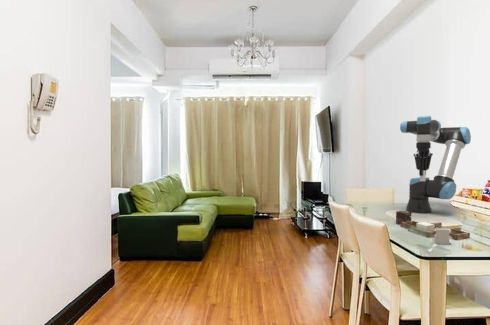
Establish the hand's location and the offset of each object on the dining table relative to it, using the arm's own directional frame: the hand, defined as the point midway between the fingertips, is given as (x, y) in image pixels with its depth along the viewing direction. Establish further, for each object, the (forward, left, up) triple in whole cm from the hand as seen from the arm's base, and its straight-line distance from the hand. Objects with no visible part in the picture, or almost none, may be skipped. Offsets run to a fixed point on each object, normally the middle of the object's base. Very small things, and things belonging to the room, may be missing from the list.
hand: (422, 180), depth 190 cm
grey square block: (+27, +35, -25) cm, 51 cm away
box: (+16, +2, -25) cm, 29 cm away
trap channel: (+14, +20, -24) cm, 34 cm away
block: (+20, +20, -25) cm, 37 cm away
